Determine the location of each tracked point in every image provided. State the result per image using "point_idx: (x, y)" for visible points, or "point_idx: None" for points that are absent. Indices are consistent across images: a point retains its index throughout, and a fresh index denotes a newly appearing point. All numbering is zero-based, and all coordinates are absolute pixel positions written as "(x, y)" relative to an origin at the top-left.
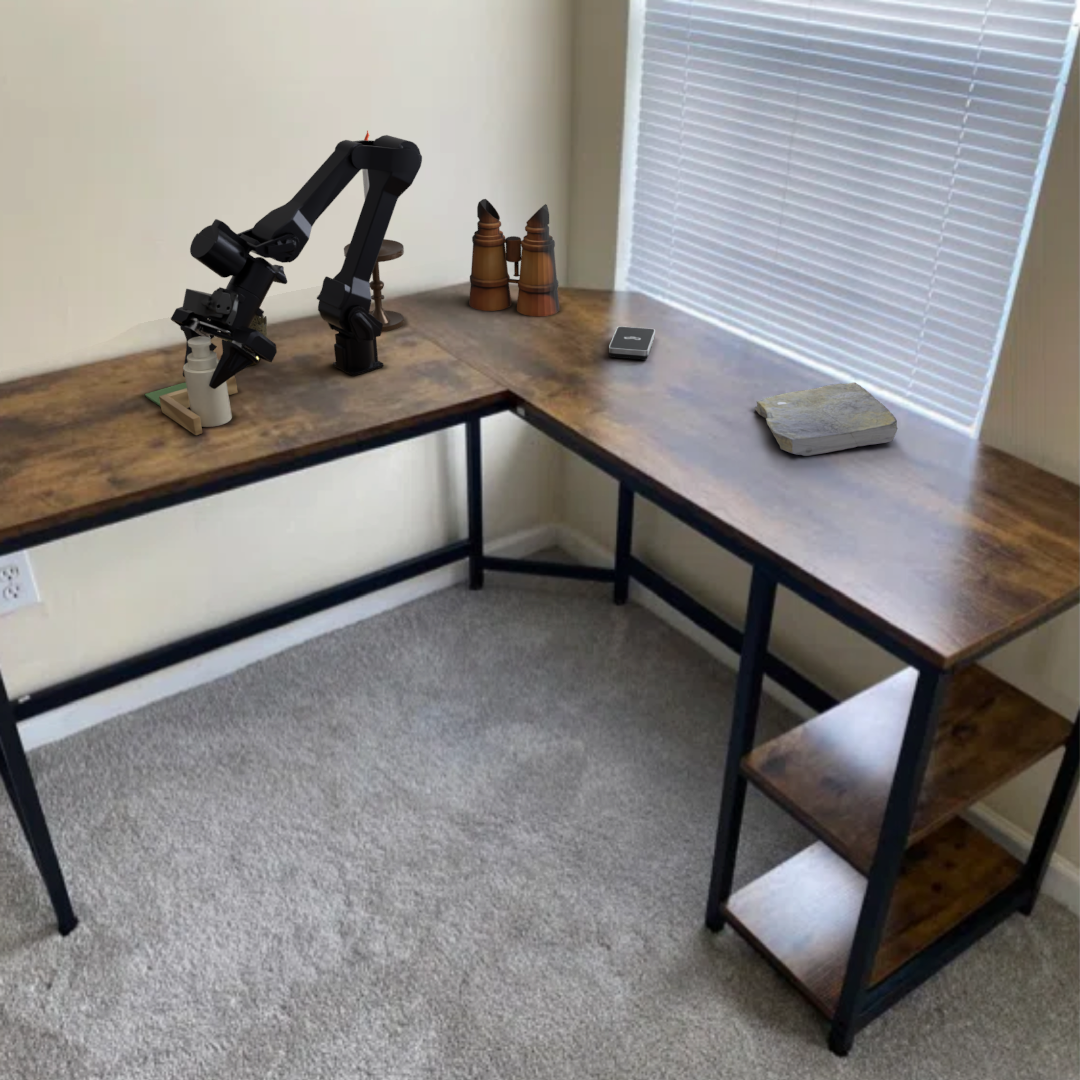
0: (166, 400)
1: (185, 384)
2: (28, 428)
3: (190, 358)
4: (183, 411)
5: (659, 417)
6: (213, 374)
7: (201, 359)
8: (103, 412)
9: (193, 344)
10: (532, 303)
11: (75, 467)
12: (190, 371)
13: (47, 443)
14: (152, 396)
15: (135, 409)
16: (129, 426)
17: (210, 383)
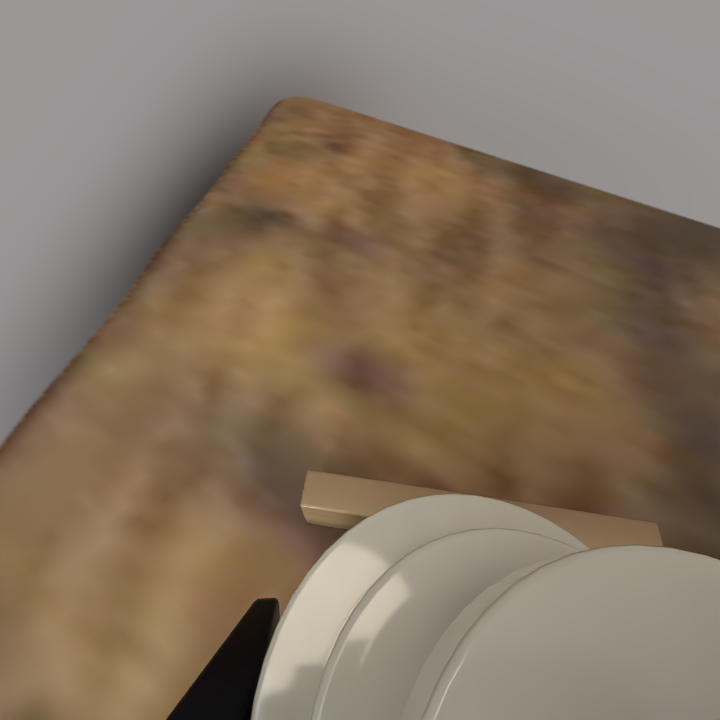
0: (585, 516)
1: None
2: (689, 244)
3: (525, 560)
4: (411, 491)
5: None
6: (245, 675)
7: (387, 644)
8: (715, 399)
9: (532, 571)
10: None
11: (404, 209)
12: (424, 510)
13: (572, 230)
14: None
15: (693, 484)
16: (552, 391)
17: (264, 609)
